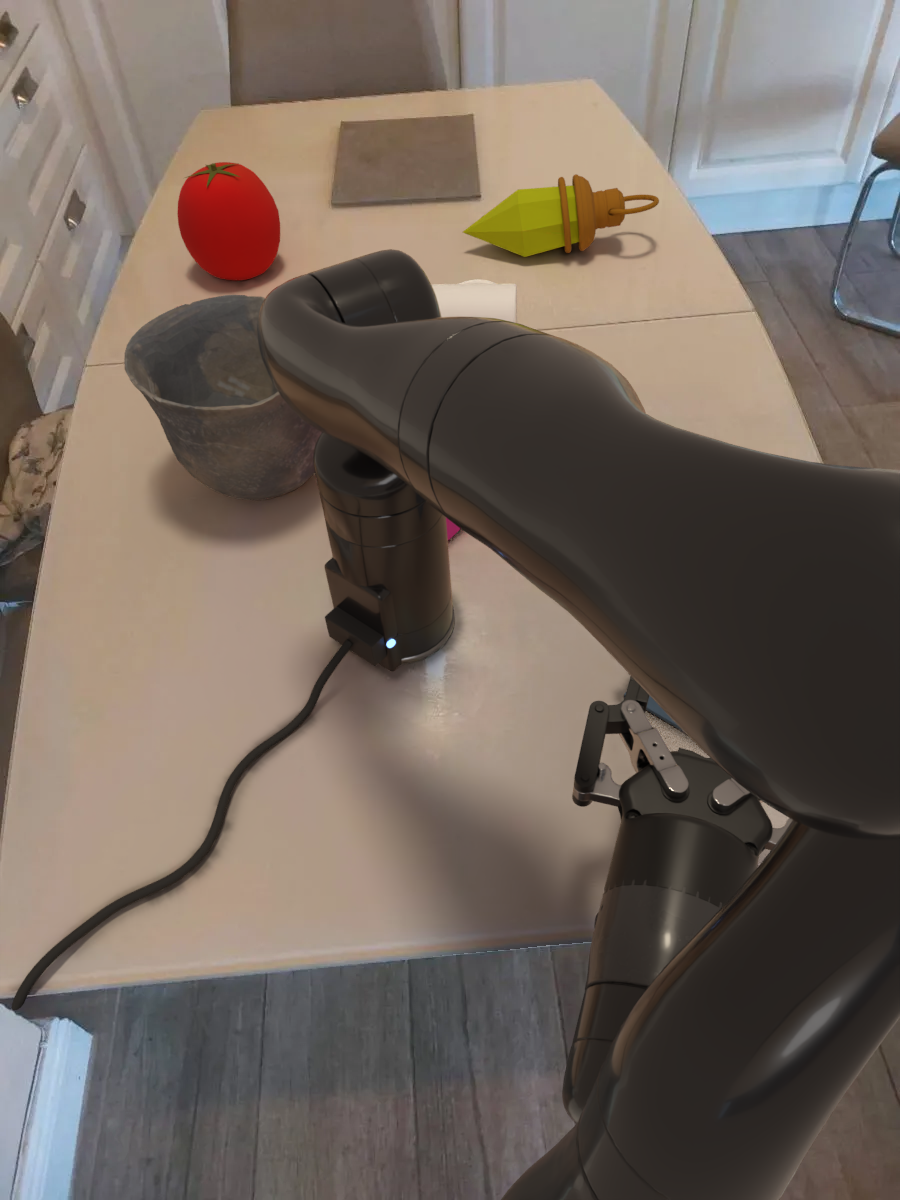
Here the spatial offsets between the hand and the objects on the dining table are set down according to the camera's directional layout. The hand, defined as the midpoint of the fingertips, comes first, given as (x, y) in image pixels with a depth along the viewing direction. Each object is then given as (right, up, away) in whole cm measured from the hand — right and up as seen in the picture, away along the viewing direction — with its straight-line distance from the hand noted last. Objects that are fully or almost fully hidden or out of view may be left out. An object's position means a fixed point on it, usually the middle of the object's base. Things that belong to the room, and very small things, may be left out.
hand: (718, 681), depth 57 cm
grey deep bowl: (-37, +18, +36) cm, 55 cm away
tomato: (-44, +48, +62) cm, 90 cm away
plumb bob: (-3, +51, +62) cm, 80 cm away
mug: (-14, +35, +50) cm, 62 cm away
